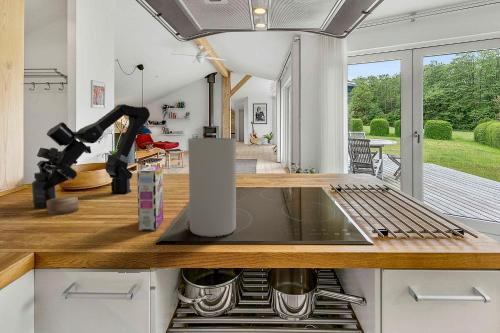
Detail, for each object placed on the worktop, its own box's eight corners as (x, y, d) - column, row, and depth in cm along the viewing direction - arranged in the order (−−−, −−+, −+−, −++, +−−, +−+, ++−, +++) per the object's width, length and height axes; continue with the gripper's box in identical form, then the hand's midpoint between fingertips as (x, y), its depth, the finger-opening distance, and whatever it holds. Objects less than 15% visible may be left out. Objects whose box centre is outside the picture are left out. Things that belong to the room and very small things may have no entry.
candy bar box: (157, 231, 85) (155, 171, 83) (138, 231, 85) (135, 171, 83) (164, 219, 96) (163, 166, 94) (148, 219, 96) (146, 166, 94)
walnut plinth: (83, 207, 109) (82, 195, 109) (71, 214, 100) (70, 201, 100) (56, 208, 108) (55, 196, 108) (41, 215, 100) (40, 202, 99)
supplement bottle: (61, 204, 113) (58, 171, 111) (43, 209, 106) (40, 174, 105) (47, 203, 115) (44, 170, 113) (28, 207, 108) (25, 173, 107)
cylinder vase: (236, 237, 81) (236, 139, 78) (187, 238, 80) (185, 139, 77) (235, 222, 93) (235, 138, 90) (192, 223, 92) (191, 137, 89)
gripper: (41, 138, 116) (7, 171, 109) (65, 140, 105) (30, 176, 98) (65, 158, 123) (35, 190, 116) (89, 161, 113) (59, 197, 105)
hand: (39, 188), depth 108 cm, fingers closed on supplement bottle, 7 cm apart
